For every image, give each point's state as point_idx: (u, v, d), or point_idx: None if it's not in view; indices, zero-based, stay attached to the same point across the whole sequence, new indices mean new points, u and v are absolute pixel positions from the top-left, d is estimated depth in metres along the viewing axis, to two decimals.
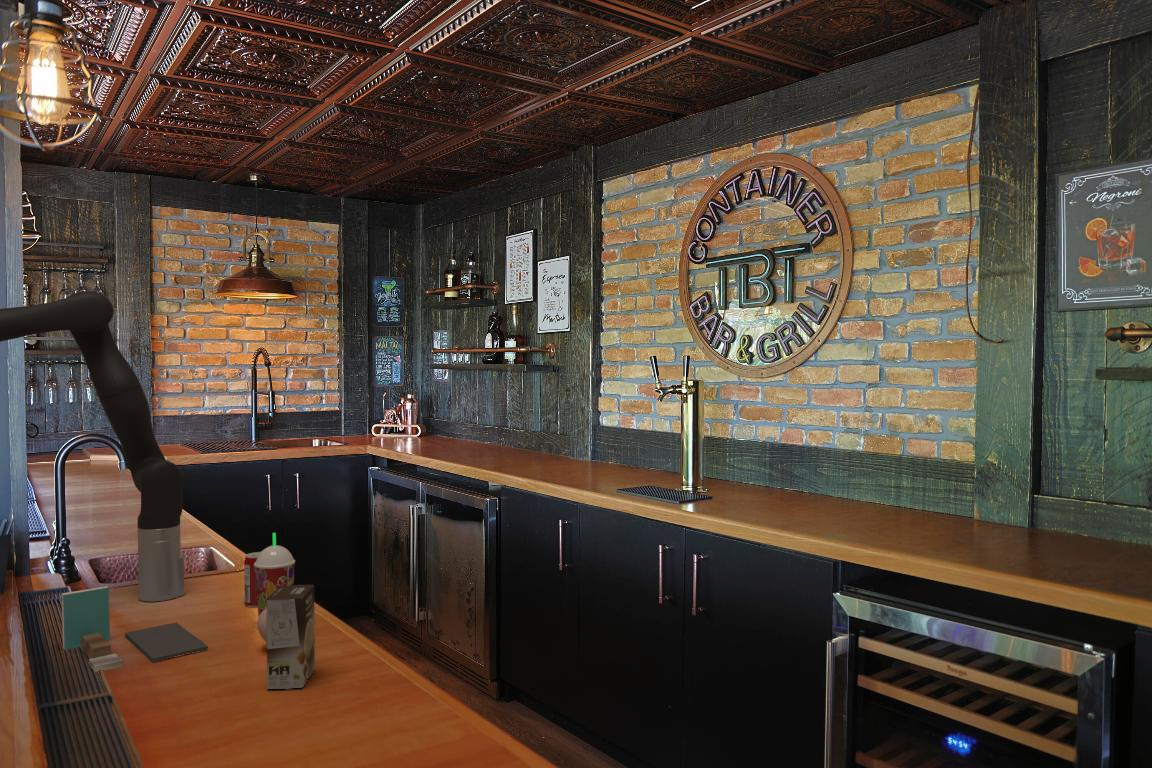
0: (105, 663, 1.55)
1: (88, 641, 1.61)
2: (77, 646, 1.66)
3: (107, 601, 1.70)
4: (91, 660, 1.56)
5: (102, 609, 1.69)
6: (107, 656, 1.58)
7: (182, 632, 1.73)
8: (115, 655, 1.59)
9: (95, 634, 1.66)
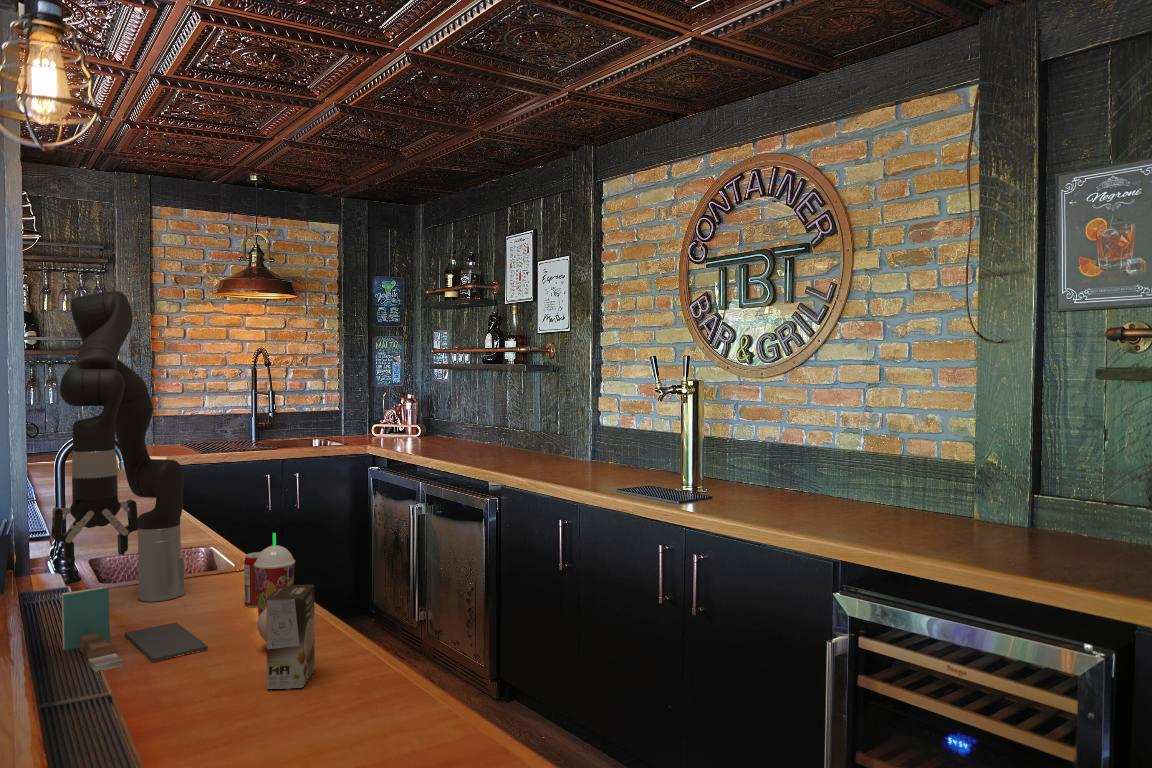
0: (105, 663, 1.55)
1: (87, 641, 1.61)
2: (77, 646, 1.66)
3: (107, 601, 1.70)
4: (91, 660, 1.56)
5: (102, 609, 1.69)
6: (107, 656, 1.58)
7: (182, 632, 1.73)
8: (115, 655, 1.59)
9: (93, 634, 1.66)
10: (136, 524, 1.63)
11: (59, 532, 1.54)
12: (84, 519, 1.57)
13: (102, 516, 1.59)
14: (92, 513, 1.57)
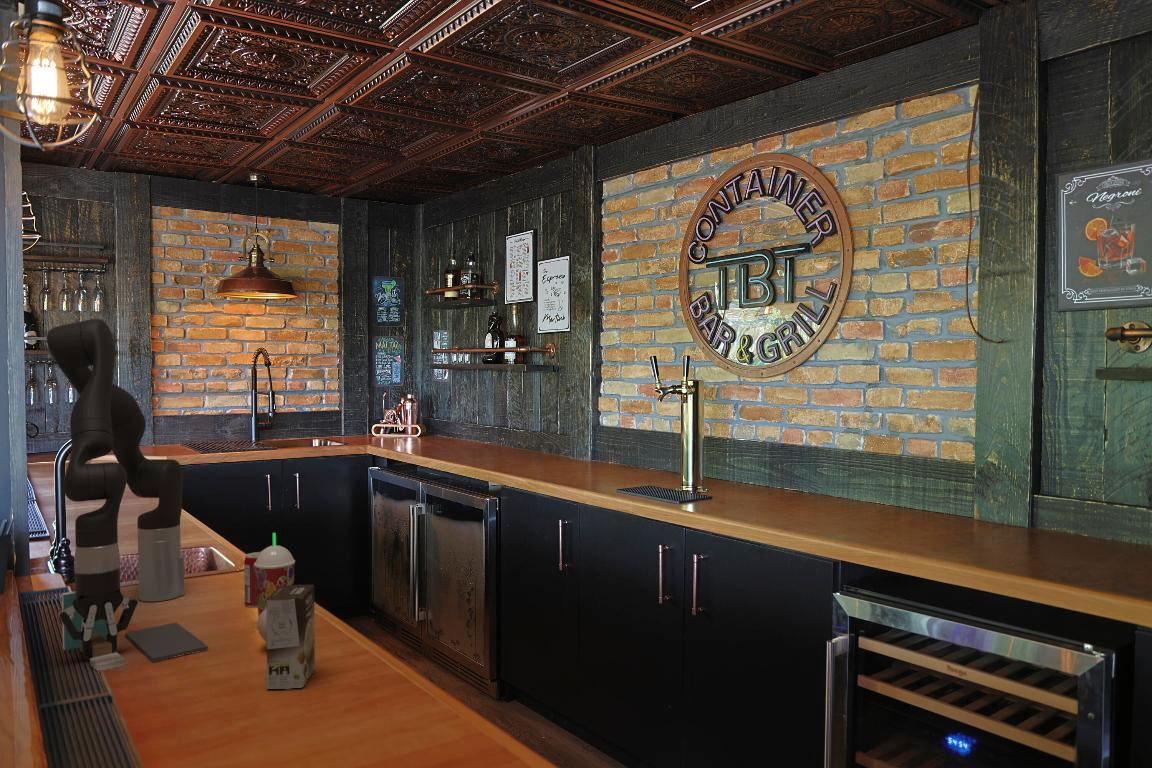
0: (107, 662, 1.55)
1: None
2: (77, 646, 1.66)
3: None
4: (92, 659, 1.56)
5: None
6: (108, 655, 1.59)
7: (182, 632, 1.73)
8: (116, 654, 1.59)
9: (94, 633, 1.66)
10: (125, 623, 1.62)
11: (74, 631, 1.56)
12: (90, 615, 1.58)
13: (102, 608, 1.60)
14: (95, 607, 1.58)
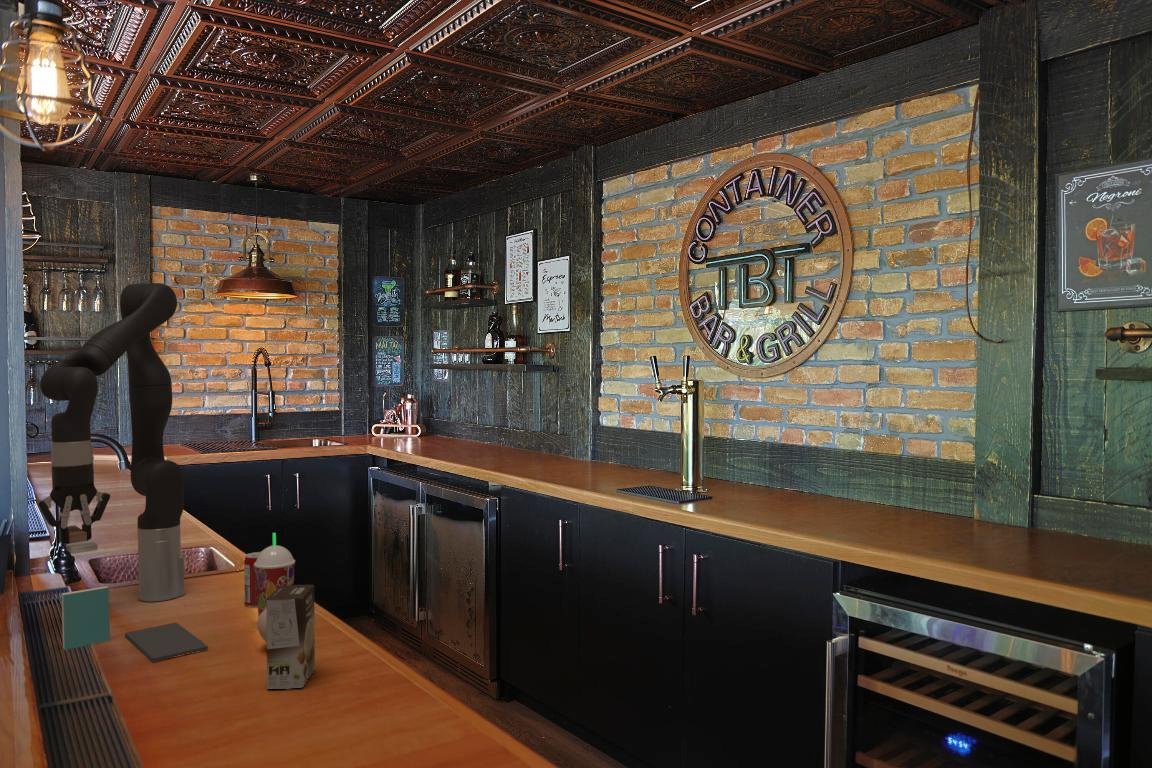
0: (81, 546, 1.70)
1: None
2: (77, 646, 1.66)
3: (107, 601, 1.70)
4: (68, 544, 1.71)
5: (102, 609, 1.69)
6: (83, 542, 1.74)
7: (182, 632, 1.73)
8: (90, 541, 1.74)
9: (72, 526, 1.81)
10: (99, 514, 1.77)
11: (52, 519, 1.71)
12: (67, 505, 1.73)
13: (78, 500, 1.75)
14: (70, 497, 1.73)
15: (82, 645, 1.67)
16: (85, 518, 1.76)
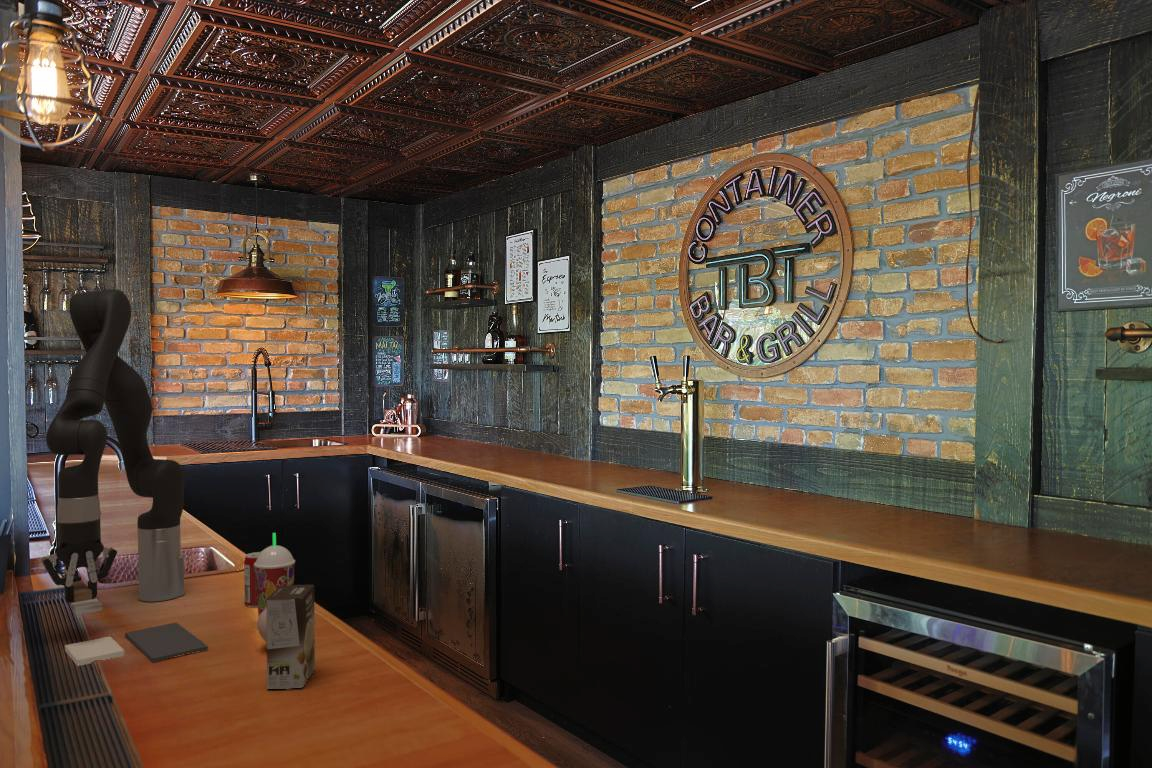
0: (86, 606, 1.65)
1: None
2: None
3: None
4: (73, 604, 1.67)
5: None
6: (88, 600, 1.69)
7: (182, 632, 1.73)
8: (95, 600, 1.69)
9: (78, 582, 1.76)
10: (105, 571, 1.72)
11: (57, 577, 1.67)
12: (72, 562, 1.68)
13: (84, 556, 1.70)
14: (76, 554, 1.68)
15: None
16: (91, 575, 1.71)
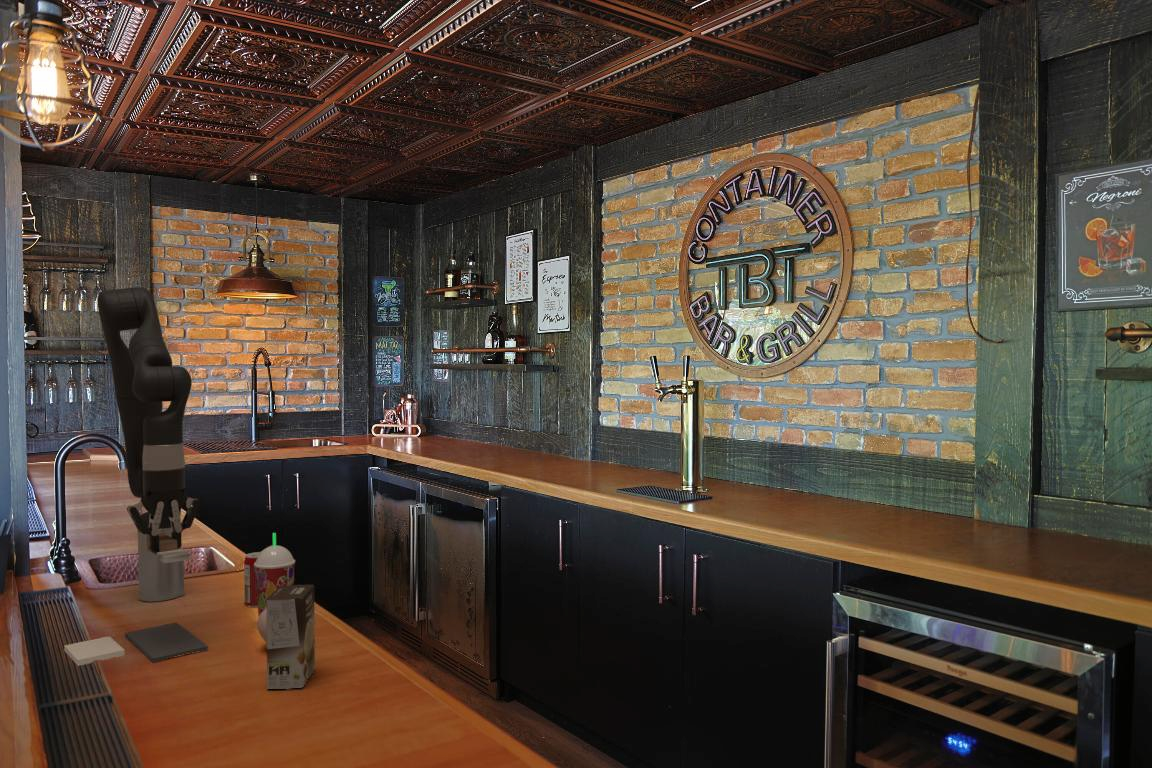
0: (173, 555, 1.61)
1: None
2: None
3: None
4: (159, 553, 1.63)
5: None
6: (174, 550, 1.65)
7: (182, 632, 1.73)
8: (181, 550, 1.66)
9: (160, 533, 1.72)
10: (189, 522, 1.69)
11: (143, 526, 1.63)
12: (158, 511, 1.64)
13: (169, 506, 1.66)
14: (162, 503, 1.65)
15: None
16: (176, 525, 1.67)
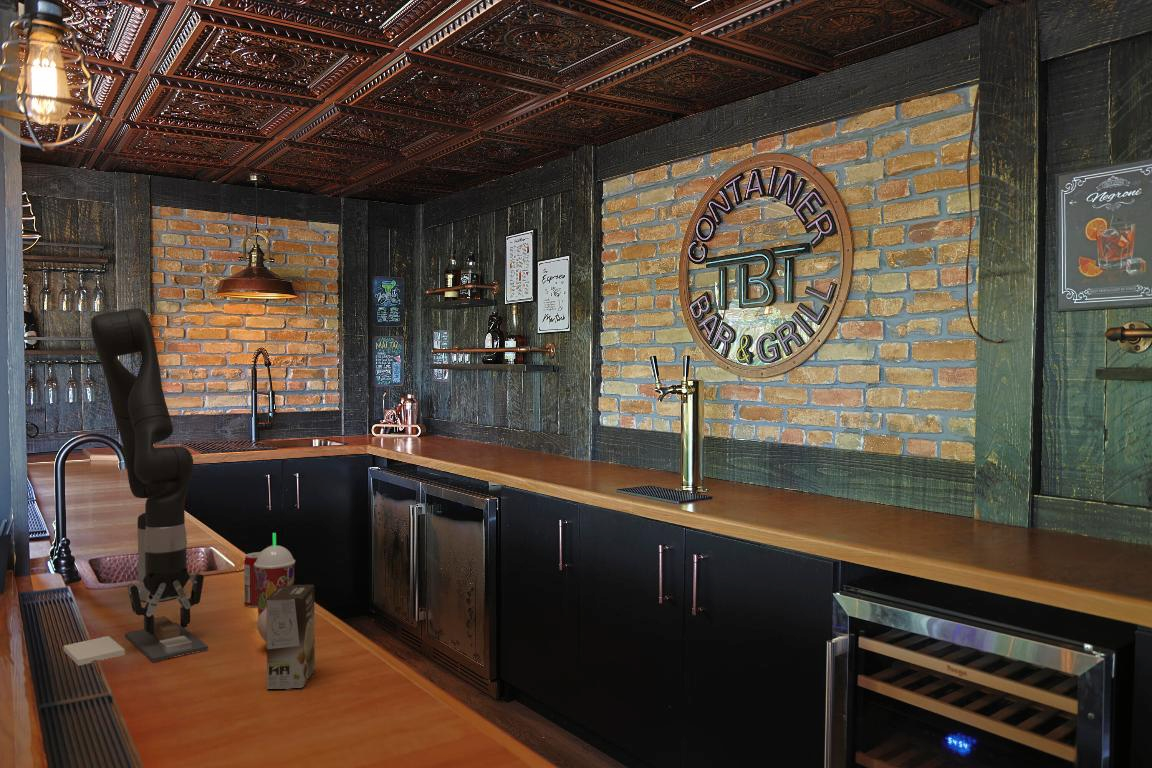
0: (176, 644, 1.62)
1: (157, 624, 1.69)
2: None
3: None
4: (162, 642, 1.64)
5: None
6: (176, 638, 1.66)
7: (182, 632, 1.73)
8: (184, 637, 1.66)
9: (162, 617, 1.73)
10: (198, 597, 1.70)
11: (139, 607, 1.63)
12: (158, 592, 1.65)
13: (172, 587, 1.67)
14: (164, 585, 1.65)
15: None
16: (183, 603, 1.68)
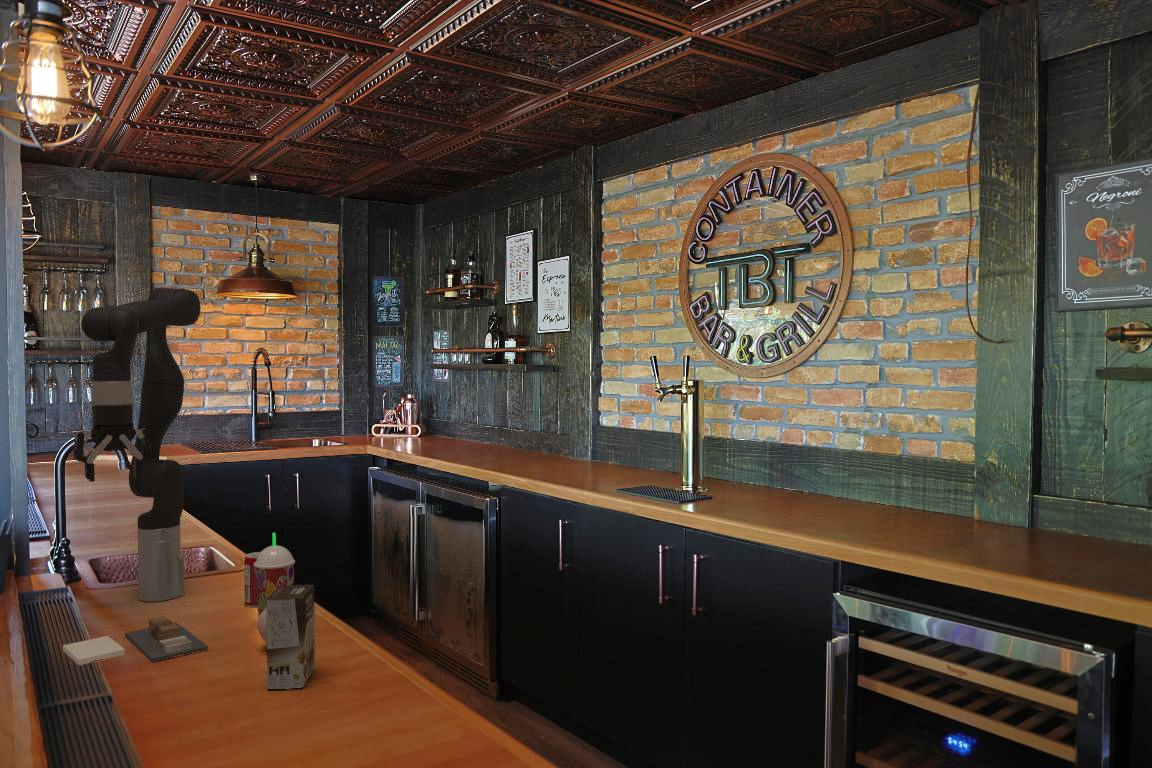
0: (176, 644, 1.62)
1: (157, 624, 1.69)
2: None
3: None
4: (162, 642, 1.64)
5: None
6: (176, 638, 1.66)
7: (182, 632, 1.73)
8: (184, 637, 1.66)
9: (162, 617, 1.73)
10: (150, 450, 1.80)
11: (81, 453, 1.71)
12: (103, 443, 1.73)
13: (119, 441, 1.76)
14: (110, 437, 1.74)
15: None
16: (135, 454, 1.78)
